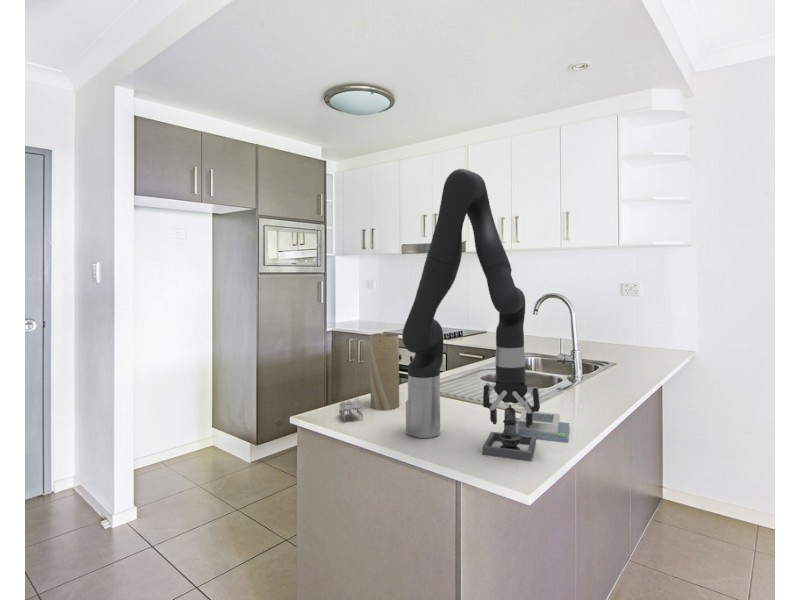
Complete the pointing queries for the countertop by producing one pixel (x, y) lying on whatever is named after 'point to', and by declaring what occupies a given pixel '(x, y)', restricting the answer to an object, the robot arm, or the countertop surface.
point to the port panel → (543, 426)
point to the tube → (384, 371)
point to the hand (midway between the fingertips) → (511, 425)
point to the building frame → (350, 406)
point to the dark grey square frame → (509, 452)
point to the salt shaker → (510, 430)
